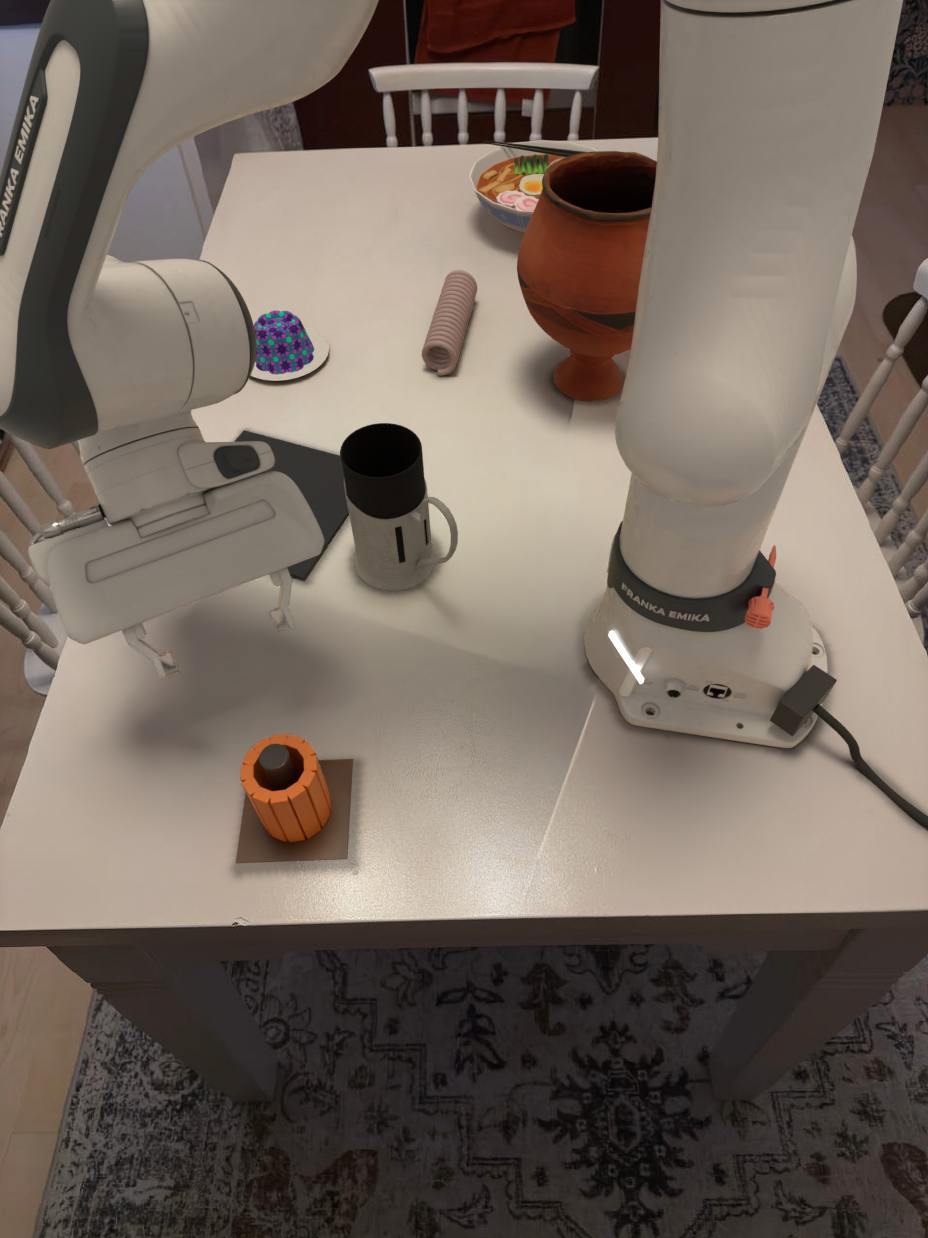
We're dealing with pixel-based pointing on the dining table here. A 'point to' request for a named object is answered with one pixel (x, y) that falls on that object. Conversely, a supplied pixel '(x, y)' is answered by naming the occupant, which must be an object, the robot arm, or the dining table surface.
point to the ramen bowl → (517, 177)
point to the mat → (310, 487)
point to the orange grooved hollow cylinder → (288, 791)
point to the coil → (450, 322)
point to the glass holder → (390, 507)
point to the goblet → (588, 263)
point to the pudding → (286, 347)
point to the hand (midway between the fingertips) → (229, 652)
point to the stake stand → (318, 847)
